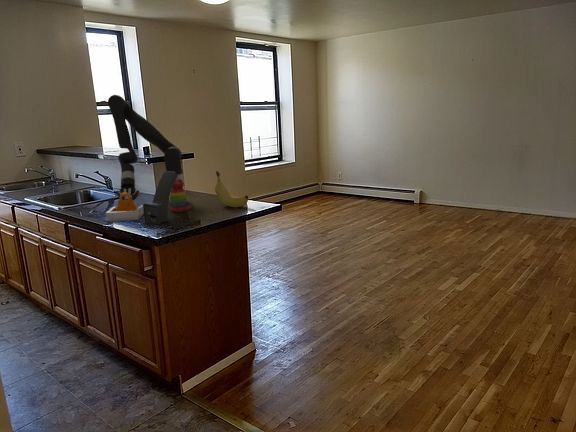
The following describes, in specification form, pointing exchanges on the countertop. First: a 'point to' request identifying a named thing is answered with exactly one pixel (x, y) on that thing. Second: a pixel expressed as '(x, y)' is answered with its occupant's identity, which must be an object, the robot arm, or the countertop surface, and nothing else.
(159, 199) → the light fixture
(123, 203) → the orange tapered block
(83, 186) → the countertop surface
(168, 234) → the countertop surface
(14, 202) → the countertop surface
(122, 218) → the bracket
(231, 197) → the banana
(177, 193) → the stacking bear
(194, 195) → the countertop surface
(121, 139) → the robot arm
